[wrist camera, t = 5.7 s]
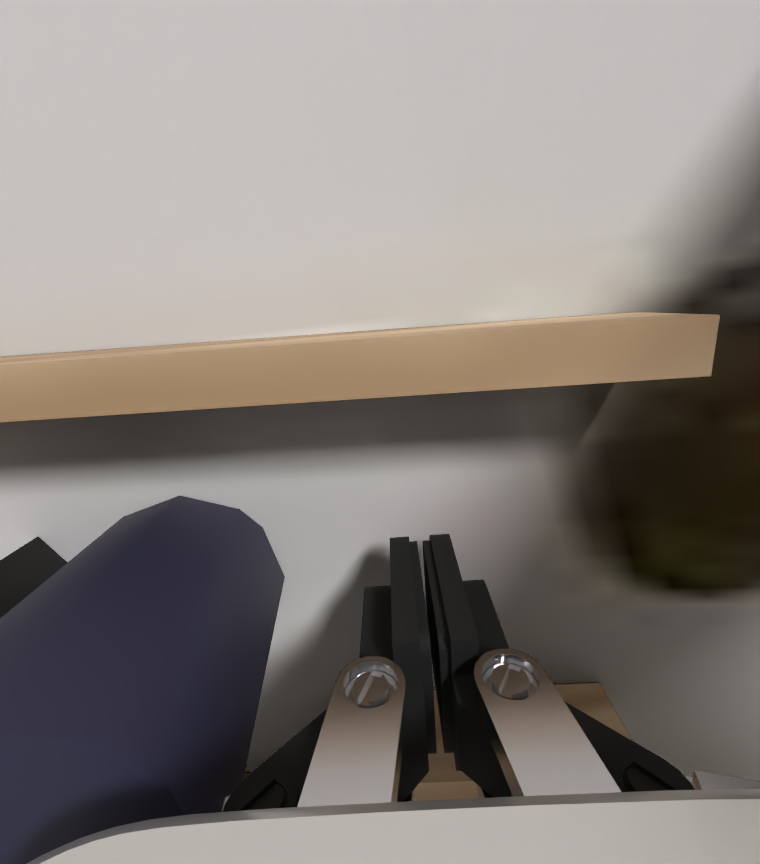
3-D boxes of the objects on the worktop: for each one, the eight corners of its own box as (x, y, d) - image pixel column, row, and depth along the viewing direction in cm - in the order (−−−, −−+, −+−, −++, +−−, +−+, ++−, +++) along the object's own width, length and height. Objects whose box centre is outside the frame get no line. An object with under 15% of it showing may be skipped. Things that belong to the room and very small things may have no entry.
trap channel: (-556, 374, 12) (-989, 405, 8) (636, 287, 11) (769, 279, 7) (-255, 813, 17) (-439, 959, 13) (590, 785, 16) (654, 936, 12)
